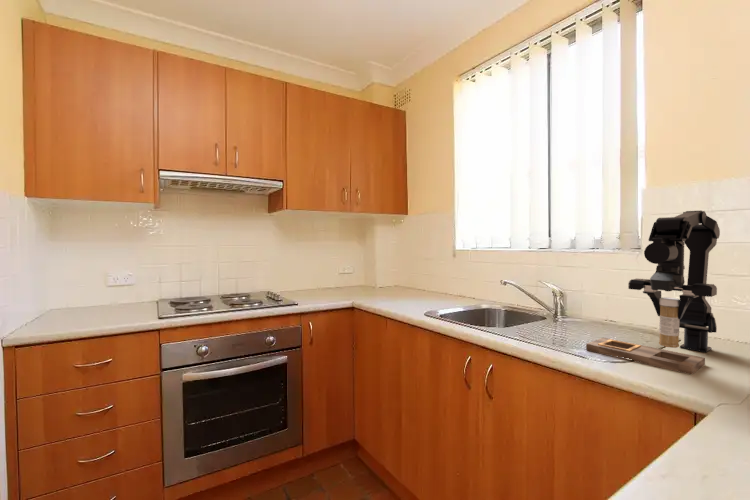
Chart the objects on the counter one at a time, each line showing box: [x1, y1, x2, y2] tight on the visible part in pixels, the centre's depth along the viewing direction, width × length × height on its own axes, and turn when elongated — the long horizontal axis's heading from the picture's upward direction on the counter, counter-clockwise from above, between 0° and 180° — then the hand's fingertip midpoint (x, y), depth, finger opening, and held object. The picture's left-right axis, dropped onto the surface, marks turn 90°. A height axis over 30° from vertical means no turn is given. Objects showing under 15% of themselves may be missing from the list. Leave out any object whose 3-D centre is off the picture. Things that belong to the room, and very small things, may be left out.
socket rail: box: [585, 337, 706, 375], centre depth 110 cm, size 12×26×2 cm, turn 36°
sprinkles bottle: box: [658, 297, 680, 349], centre depth 104 cm, size 5×5×14 cm
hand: (669, 317), depth 104 cm, fingers closed on sprinkles bottle, 4 cm apart
